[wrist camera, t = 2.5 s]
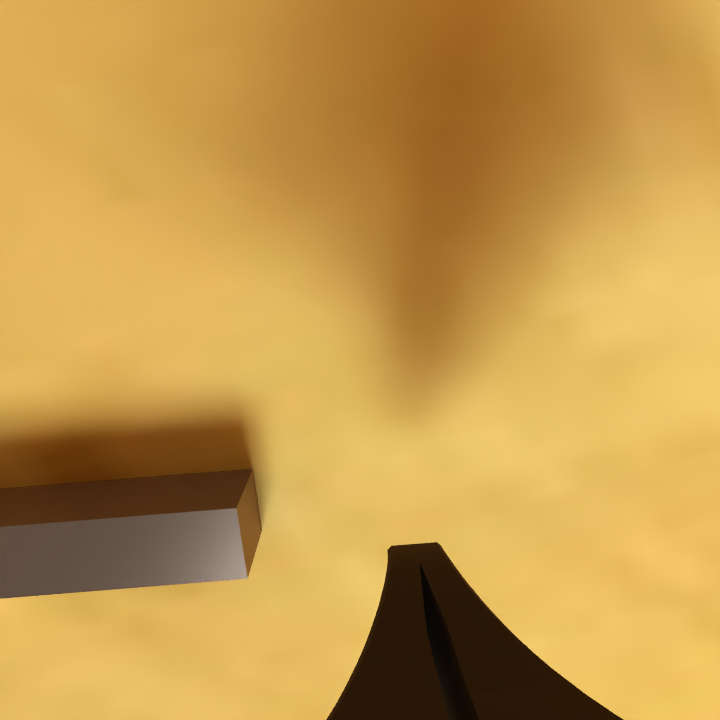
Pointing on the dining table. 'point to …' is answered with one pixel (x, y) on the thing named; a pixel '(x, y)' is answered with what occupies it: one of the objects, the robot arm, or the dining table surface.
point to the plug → (127, 533)
